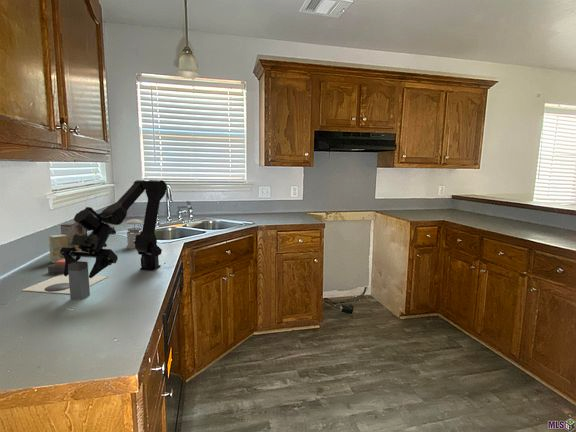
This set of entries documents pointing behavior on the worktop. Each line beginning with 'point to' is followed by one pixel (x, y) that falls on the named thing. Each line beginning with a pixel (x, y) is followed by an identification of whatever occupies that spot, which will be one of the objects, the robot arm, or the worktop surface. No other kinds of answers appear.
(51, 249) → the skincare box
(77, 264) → the dark grey block
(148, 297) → the worktop surface
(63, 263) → the button
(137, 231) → the french press
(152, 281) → the worktop surface
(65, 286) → the paper sheet
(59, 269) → the button socket
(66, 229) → the coffee box
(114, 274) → the worktop surface
